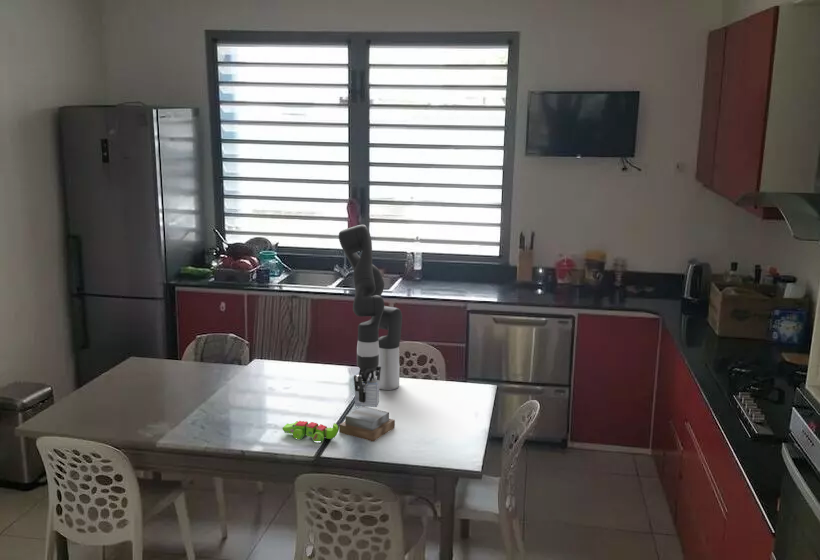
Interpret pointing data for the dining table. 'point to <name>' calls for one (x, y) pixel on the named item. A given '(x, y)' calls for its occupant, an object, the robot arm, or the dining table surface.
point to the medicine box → (369, 395)
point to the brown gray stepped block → (367, 423)
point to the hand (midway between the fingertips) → (367, 399)
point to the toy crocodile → (311, 430)
